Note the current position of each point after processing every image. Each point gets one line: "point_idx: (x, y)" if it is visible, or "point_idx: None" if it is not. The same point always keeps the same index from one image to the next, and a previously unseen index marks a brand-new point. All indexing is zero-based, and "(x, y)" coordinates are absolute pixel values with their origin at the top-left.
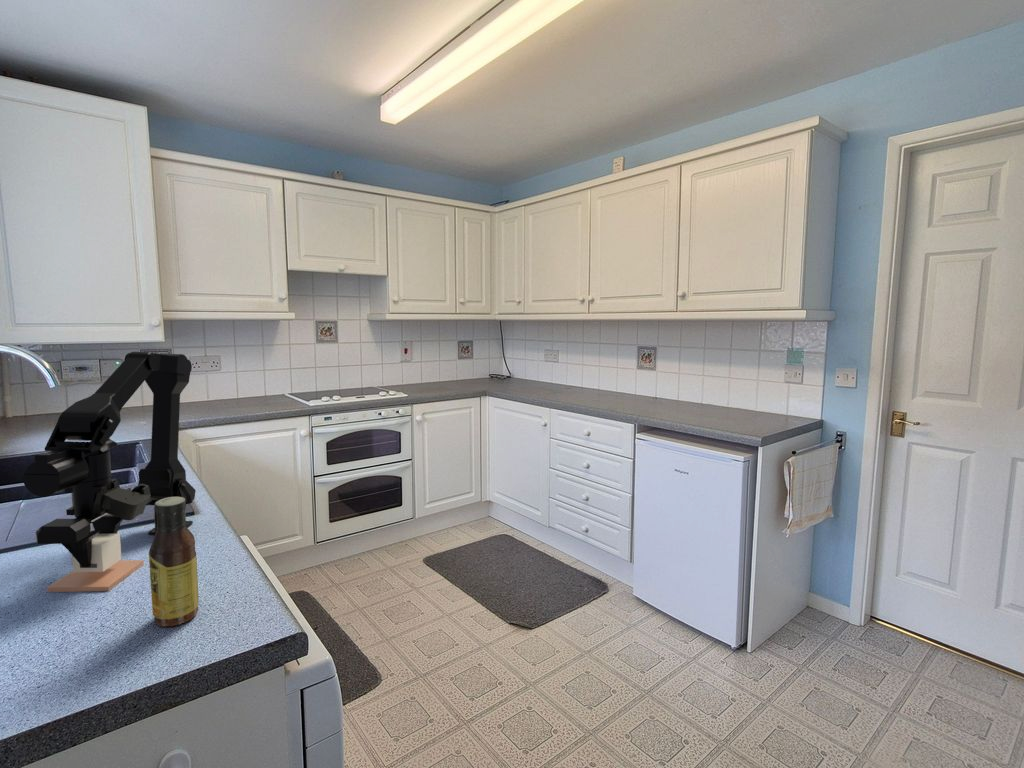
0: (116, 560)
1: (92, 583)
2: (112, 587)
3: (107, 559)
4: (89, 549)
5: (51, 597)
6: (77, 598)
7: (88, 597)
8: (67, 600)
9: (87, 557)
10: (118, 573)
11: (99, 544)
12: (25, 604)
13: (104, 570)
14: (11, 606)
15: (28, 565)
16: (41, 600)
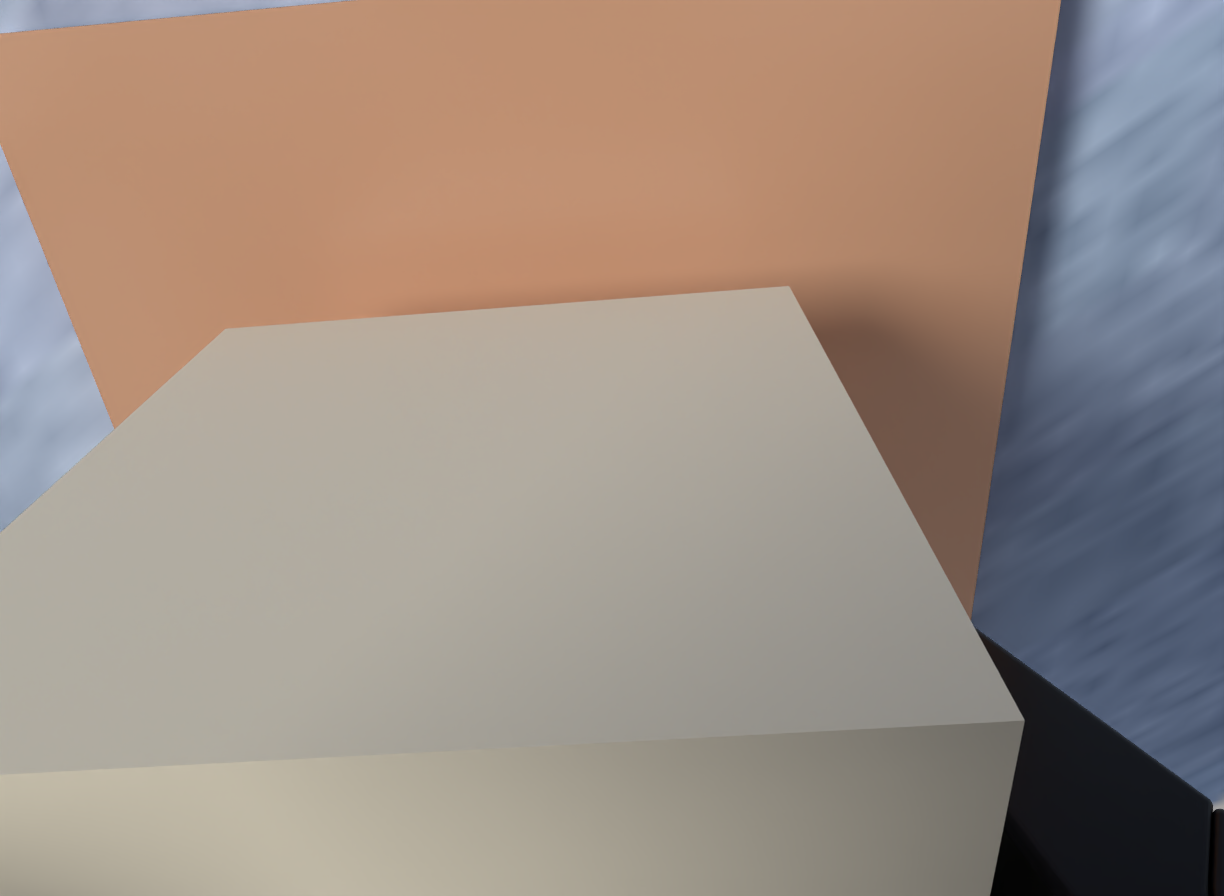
0: (367, 331)
1: (906, 313)
2: None
3: (649, 371)
4: (1165, 858)
5: (1079, 594)
6: (1189, 278)
7: (1197, 135)
8: (1217, 369)
9: (1055, 690)
10: (538, 140)
11: (924, 812)
12: (1193, 717)
13: (750, 289)
14: (1203, 793)
15: None
16: (1134, 640)
